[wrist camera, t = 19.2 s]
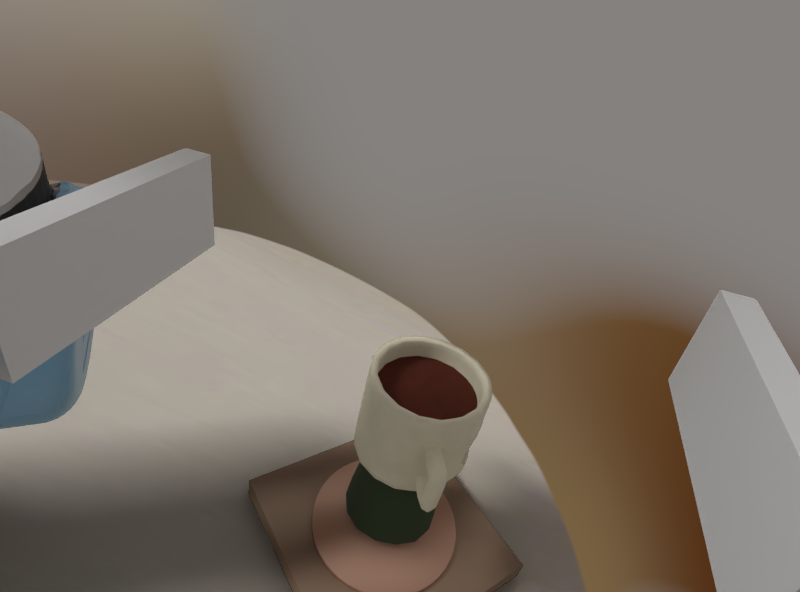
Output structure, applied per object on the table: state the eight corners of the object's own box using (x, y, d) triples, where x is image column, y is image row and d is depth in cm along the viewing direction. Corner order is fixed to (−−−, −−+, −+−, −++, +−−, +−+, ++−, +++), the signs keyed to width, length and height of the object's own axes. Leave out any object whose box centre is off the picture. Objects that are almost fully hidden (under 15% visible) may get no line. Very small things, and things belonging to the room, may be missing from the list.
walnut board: (248, 492, 37) (249, 477, 36) (406, 429, 45) (411, 415, 44) (339, 697, 29) (344, 684, 27) (516, 576, 36) (525, 562, 35)
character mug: (452, 586, 33) (520, 458, 25) (340, 590, 31) (378, 456, 24) (424, 445, 41) (469, 319, 34) (336, 442, 40) (362, 310, 33)
